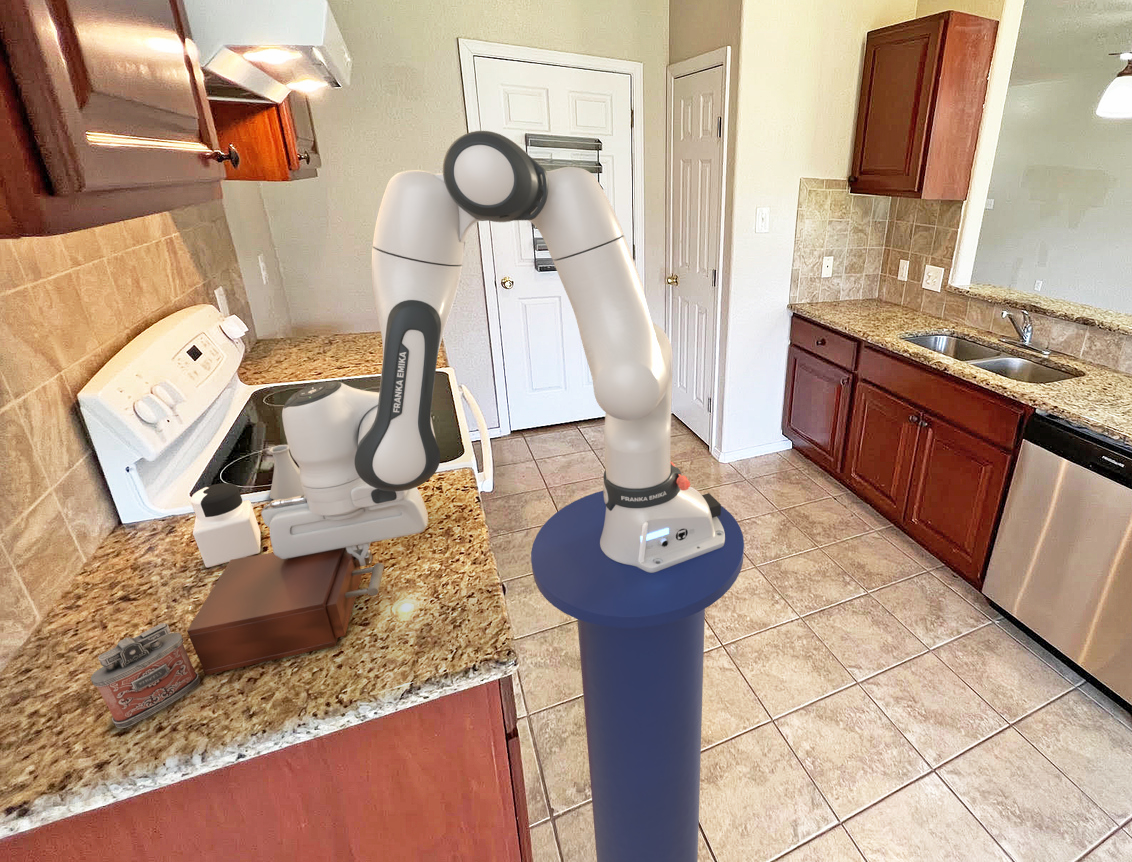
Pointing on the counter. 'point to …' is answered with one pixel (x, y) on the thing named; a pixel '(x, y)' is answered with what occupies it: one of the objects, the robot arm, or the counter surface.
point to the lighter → (144, 675)
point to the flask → (285, 474)
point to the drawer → (349, 591)
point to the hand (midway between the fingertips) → (364, 564)
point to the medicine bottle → (224, 524)
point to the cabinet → (266, 610)
